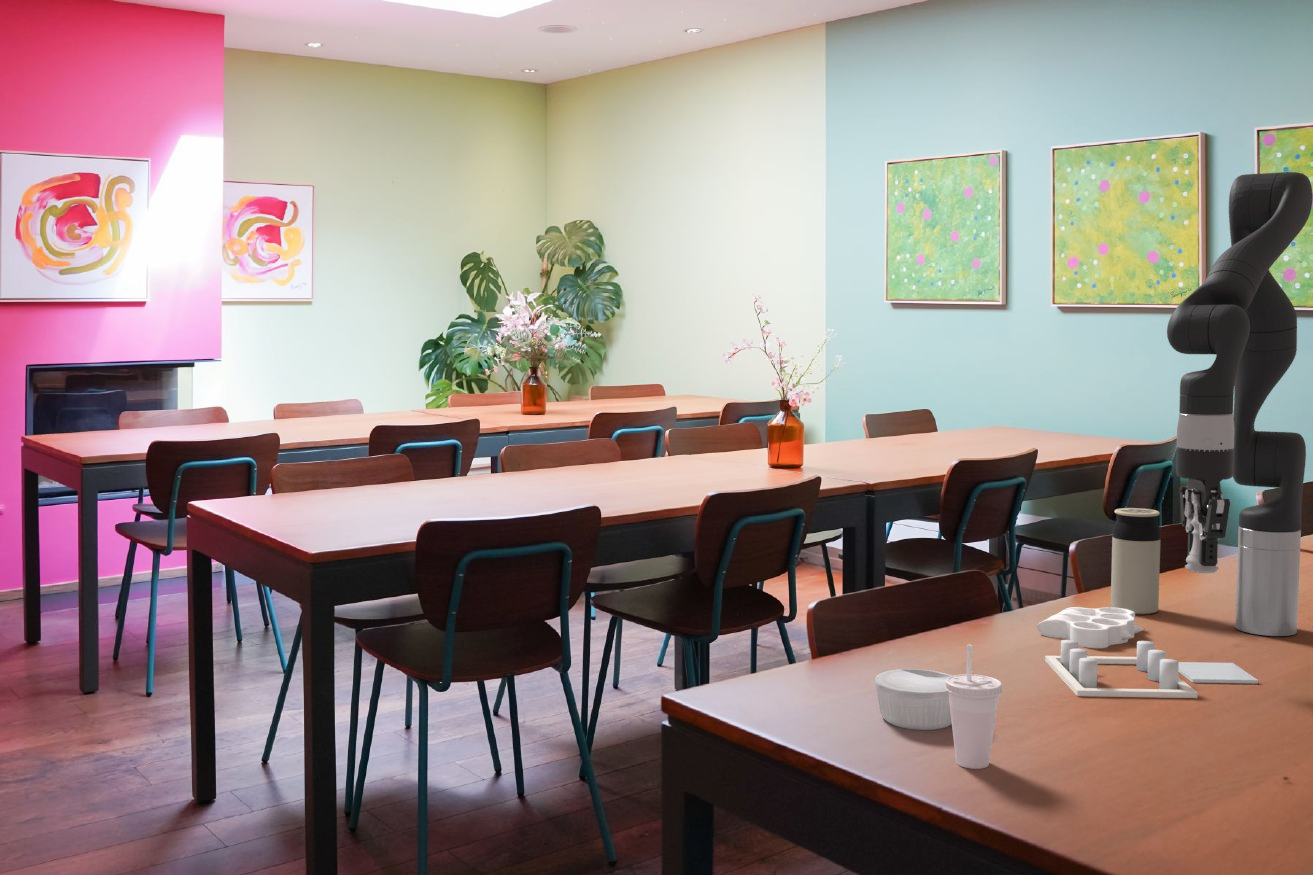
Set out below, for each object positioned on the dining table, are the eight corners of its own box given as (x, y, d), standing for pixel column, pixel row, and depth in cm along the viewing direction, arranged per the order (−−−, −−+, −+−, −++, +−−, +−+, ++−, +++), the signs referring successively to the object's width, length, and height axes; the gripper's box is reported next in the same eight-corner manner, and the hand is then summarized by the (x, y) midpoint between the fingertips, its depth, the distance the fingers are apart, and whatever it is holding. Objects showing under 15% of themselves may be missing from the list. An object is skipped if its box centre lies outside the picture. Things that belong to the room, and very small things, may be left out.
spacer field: (1045, 660, 183) (1045, 634, 182) (1153, 662, 181) (1154, 636, 181) (1077, 696, 165) (1077, 667, 164) (1197, 698, 163) (1198, 669, 163)
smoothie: (936, 754, 142) (938, 638, 141) (989, 752, 143) (991, 637, 142) (954, 773, 136) (956, 652, 135) (1009, 771, 136) (1011, 651, 135)
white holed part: (1068, 619, 210) (1155, 632, 201) (1029, 641, 196) (1121, 655, 187) (1068, 601, 210) (1156, 612, 201) (1030, 620, 196) (1122, 634, 187)
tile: (1170, 665, 180) (1170, 661, 180) (1232, 666, 179) (1232, 662, 179) (1192, 682, 171) (1192, 679, 171) (1257, 683, 170) (1258, 680, 170)
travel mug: (1165, 615, 211) (1168, 514, 210) (1120, 615, 212) (1122, 514, 210) (1147, 605, 219) (1150, 507, 218) (1103, 605, 219) (1106, 507, 218)
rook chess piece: (1222, 574, 171) (1223, 518, 171) (1188, 573, 172) (1189, 518, 172) (1214, 567, 176) (1216, 513, 175) (1181, 566, 177) (1183, 513, 176)
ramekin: (966, 710, 159) (967, 671, 159) (958, 737, 148) (959, 696, 148) (881, 702, 163) (881, 664, 162) (868, 728, 152) (868, 687, 152)
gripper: (1252, 450, 165) (1248, 572, 166) (1214, 439, 179) (1211, 552, 181) (1195, 450, 165) (1192, 572, 167) (1162, 439, 180) (1159, 552, 181)
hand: (1202, 561), depth 174 cm, fingers closed on rook chess piece, 4 cm apart
